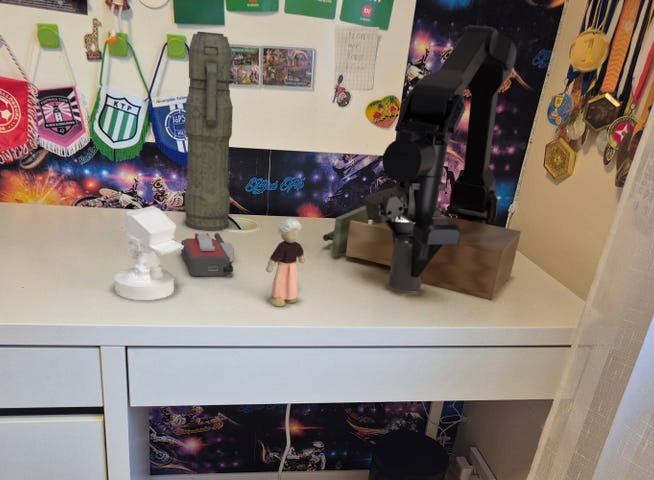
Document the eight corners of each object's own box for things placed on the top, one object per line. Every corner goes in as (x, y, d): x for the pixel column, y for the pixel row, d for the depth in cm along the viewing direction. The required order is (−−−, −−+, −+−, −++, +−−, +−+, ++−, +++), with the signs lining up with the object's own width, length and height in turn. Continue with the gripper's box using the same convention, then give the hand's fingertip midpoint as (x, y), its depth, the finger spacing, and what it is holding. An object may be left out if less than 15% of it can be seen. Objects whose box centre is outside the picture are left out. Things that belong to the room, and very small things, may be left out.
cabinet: (397, 276, 111) (404, 228, 108) (423, 257, 123) (431, 213, 119) (491, 300, 105) (503, 249, 101) (510, 277, 117) (521, 231, 113)
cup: (395, 277, 109) (402, 231, 105) (425, 285, 106) (433, 238, 103) (383, 286, 104) (390, 238, 101) (414, 294, 102) (423, 245, 98)
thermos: (190, 233, 124) (191, 31, 108) (180, 216, 134) (180, 29, 118) (234, 232, 127) (242, 35, 111) (222, 216, 137) (227, 34, 121)
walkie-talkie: (244, 278, 104) (222, 242, 121) (246, 252, 102) (222, 218, 119) (190, 279, 101) (174, 242, 118) (190, 252, 99) (174, 218, 116)
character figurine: (144, 275, 101) (142, 199, 96) (191, 290, 97) (192, 212, 92) (102, 290, 94) (97, 209, 89) (151, 306, 90) (149, 223, 85)
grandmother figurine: (281, 311, 93) (288, 225, 87) (259, 304, 95) (265, 219, 89) (308, 297, 99) (316, 216, 93) (288, 290, 101) (294, 210, 95)
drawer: (313, 250, 118) (316, 213, 115) (343, 235, 129) (347, 201, 126) (411, 274, 111) (418, 235, 108) (435, 256, 121) (441, 220, 118)
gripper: (352, 159, 103) (341, 253, 110) (401, 186, 87) (384, 293, 94) (414, 161, 106) (400, 252, 113) (472, 187, 90) (451, 291, 97)
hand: (407, 270), depth 104 cm, fingers closed on cup, 5 cm apart
